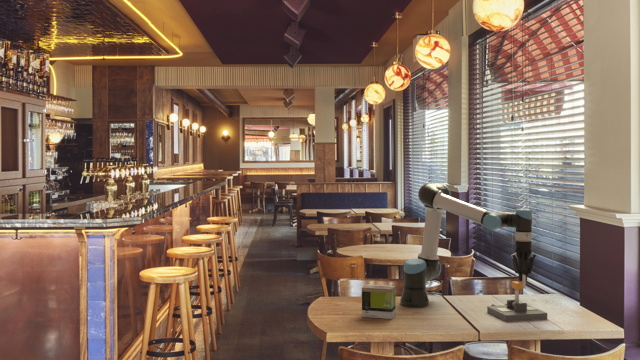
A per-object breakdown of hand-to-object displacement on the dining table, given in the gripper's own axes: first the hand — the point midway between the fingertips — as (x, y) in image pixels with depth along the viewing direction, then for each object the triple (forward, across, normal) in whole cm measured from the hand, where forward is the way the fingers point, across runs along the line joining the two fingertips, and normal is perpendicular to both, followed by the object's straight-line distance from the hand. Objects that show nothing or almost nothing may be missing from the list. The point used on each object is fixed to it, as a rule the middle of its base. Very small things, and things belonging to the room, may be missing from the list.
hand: (522, 287), depth 290 cm
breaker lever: (+10, -3, 0) cm, 11 cm away
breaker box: (+14, -3, +4) cm, 15 cm away
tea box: (+14, -70, +13) cm, 73 cm away
